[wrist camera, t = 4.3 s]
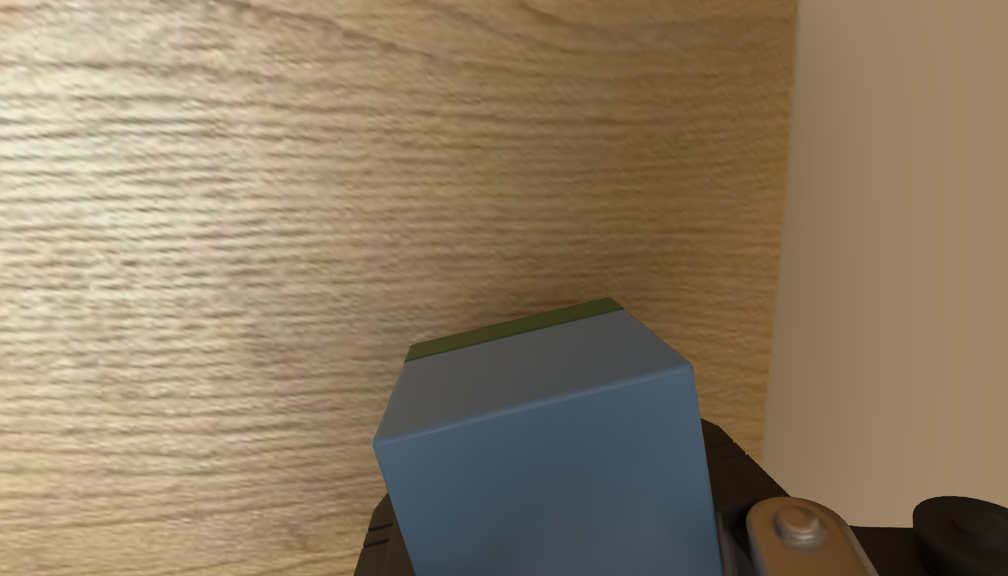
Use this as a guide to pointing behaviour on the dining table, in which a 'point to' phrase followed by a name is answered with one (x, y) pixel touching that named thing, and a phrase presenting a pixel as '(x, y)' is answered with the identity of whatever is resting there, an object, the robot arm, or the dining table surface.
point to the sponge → (550, 451)
